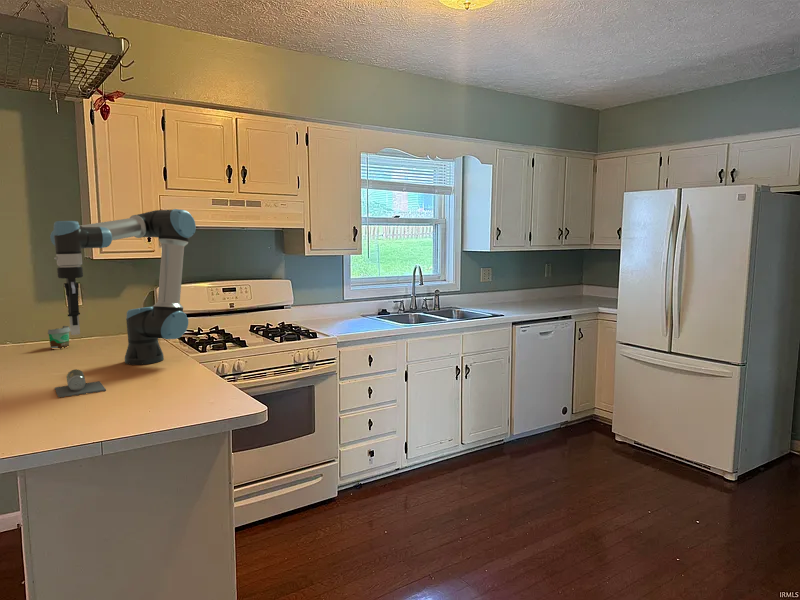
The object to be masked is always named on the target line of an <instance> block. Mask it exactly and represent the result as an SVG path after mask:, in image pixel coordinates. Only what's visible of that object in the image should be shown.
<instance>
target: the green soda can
mask: <svg viewBox="0 0 800 600" xmlns="http://www.w3.org/2000/svg"><path fill="white" fill-rule="evenodd" d="M66 383H67V386H68V387H69V388H70V389H71V390H74V391H78V390H81V389H82V388H83V387H84V386H85V383H87V382H86V377H85V374H84V372H83V371H82V370H81V369H72V370H70V371H68V373H67V375H66Z"/></svg>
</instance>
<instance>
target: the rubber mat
mask: <svg viewBox="0 0 800 600" xmlns="http://www.w3.org/2000/svg"><path fill="white" fill-rule="evenodd" d="M54 390H56V391H55V394H56V395H58V396H57V398H58V397H63V398H66V397H65V396H70V397H73V396H72V395H76V396H80V395H79V394H83V395H87V394H86V393H90V394H94V393H93V392H96V393H101V392H100V391H103V392H106V391H107V388H106V387H105V386H104V385H103V383H102V382H101V381H100V380H98V381H91V382H86V383H85V386H84V387H83V388H82V389H81V390H78V391H74V390H71V389H70V388H69V387H68V385H64V386H63V385H62V386H56V387H54Z"/></svg>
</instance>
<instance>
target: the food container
mask: <svg viewBox="0 0 800 600" xmlns="http://www.w3.org/2000/svg"><path fill="white" fill-rule="evenodd" d="M70 333H71V330H70V325H69V326H68V325H63V326H62V327H60V328H55V329H48V330H47V334H48V339H49V344H50V349H51V348H62V347H67V346H69V347H70Z"/></svg>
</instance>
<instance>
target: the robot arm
mask: <svg viewBox="0 0 800 600" xmlns="http://www.w3.org/2000/svg"><path fill="white" fill-rule="evenodd" d="M196 226H197V225H196V220H195V218H194V217H193V216H192V214H191V213H190V212H189V211H188V210H186V209H179V208H174V209H173V208H172V209H156V210H151V211H146V212H143V213H139V214H133V215H131V216H130V217H129V218H123V219H116V220H108V221H103V222H95V223H88V224H82V225H80V223H79V221H77V220H56V221H54V223H53V230H52V231H51V233H50V237H49V238H50V242H51V244H52V245H53V246H54V248H55V256H54V258H53V259H54V260H55V261H56V265H57V266H58V267H57V268H56V270H57V271H56V272H57V277H58V279H65V281H66V282H64V284H63V287H64V289H65V290H64V291H65V295H66V302H67V309H68V310H67V312H68V314H67V317H69V319H68V320H69V328H70V330H71V331H70V336H72V335H73V336H75V335H81V328H80V316H79V315H81V312H80V310H79V309H80V306H79V283H78V282H77V280H76V278H77V279H79V278H80V279H81V278H83V277H84V271H83V270H84V269H83V267H82V265H83V258H82V257H83V256H82V249H103V248H104V249H106V248H108V247H110V246H111V244H112V241H116V240H122V239H127V238H133V237H134V238H136V239H142V238H158V241H159V243H160V244H161V253H160V254H161V255H160V256H161V257H160V267H159V279H158V280H159V281H158V293H157V302H156V303H155V304H153V305H152V306H146V307H145V306H144V307H138V308H132V309H128V310H127V312H126V332H127V342H128V343H127V344H128V345H127V349H126V351H125V356H124V363H125V364H126V365H132V366H133V365H134V366H135V365H138V366H139V365H140V366H141V365H148V364H156V363H158V362H162V361H163V360H164V352H163V350H162V347H161V346H160V342H159V339H164V340H177V339H180V338H181V337H182V336H183V335H185V333H186V332H187V330H188V326H189V317H187V314H186V313H185V312H184V306H183V305H182V304H181V293H182V292H181V291H182V278H183V265H184V252H185V247H186V246H187V245H188V244H189V240H190V238H192V236H194V234H195V233H196V229H197V227H196Z"/></svg>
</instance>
